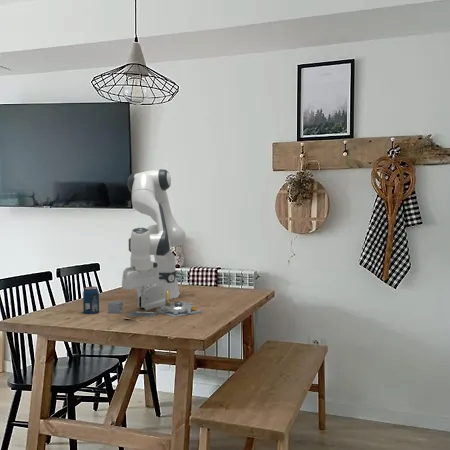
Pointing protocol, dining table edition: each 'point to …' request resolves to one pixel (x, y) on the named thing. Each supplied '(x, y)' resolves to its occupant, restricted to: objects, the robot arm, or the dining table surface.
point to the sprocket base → (179, 313)
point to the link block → (115, 307)
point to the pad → (143, 313)
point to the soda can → (90, 300)
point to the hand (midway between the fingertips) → (140, 296)
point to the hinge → (152, 298)
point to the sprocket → (176, 306)
